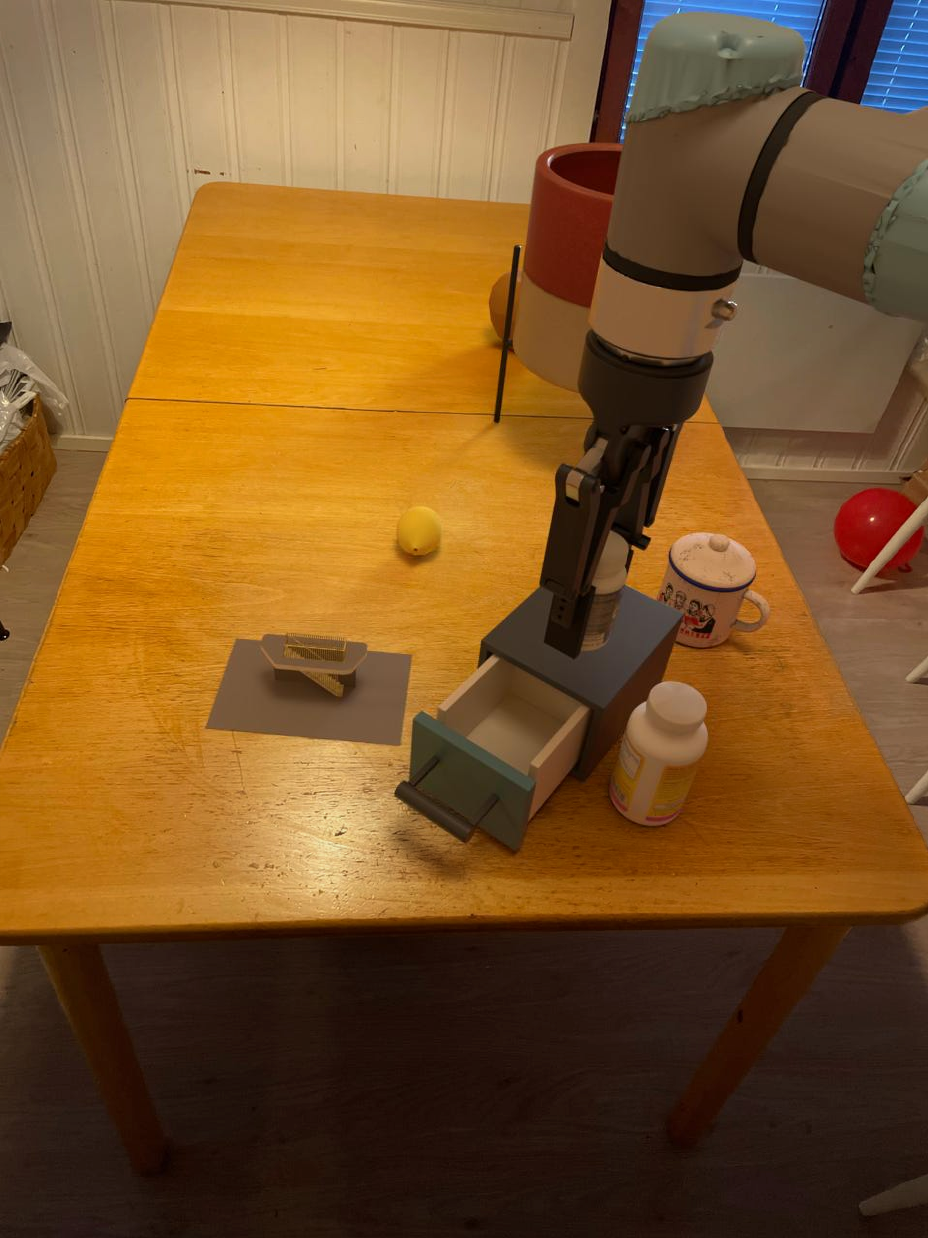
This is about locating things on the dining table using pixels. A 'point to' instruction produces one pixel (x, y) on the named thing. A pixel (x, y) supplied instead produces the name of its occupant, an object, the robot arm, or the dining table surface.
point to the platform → (313, 689)
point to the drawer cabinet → (593, 662)
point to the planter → (560, 262)
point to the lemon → (419, 530)
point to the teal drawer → (494, 752)
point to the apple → (503, 303)
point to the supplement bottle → (660, 754)
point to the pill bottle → (606, 592)
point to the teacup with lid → (710, 588)
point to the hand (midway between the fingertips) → (580, 628)
